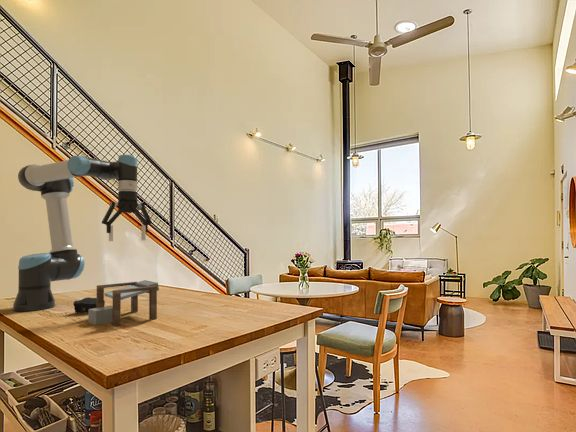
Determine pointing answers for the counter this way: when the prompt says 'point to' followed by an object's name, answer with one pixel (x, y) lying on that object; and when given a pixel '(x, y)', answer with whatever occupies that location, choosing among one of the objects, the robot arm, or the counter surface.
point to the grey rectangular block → (100, 315)
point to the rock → (85, 305)
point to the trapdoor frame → (134, 300)
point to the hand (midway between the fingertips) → (127, 240)
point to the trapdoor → (138, 285)
